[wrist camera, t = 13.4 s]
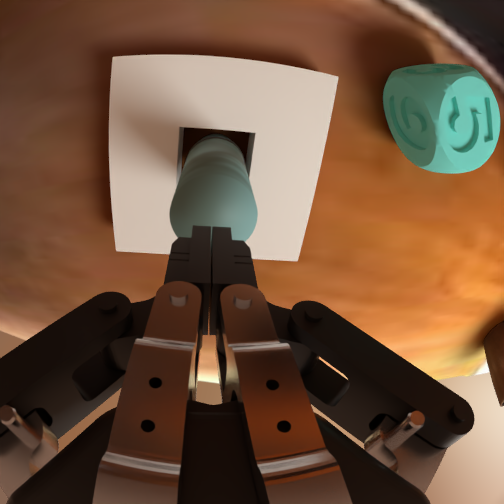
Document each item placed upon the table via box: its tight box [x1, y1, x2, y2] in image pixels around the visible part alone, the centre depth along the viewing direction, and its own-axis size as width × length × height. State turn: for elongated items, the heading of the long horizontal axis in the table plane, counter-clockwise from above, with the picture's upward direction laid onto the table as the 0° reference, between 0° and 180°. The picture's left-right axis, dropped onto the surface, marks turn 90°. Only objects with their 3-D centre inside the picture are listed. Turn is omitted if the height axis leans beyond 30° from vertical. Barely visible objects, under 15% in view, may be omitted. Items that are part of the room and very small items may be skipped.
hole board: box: [109, 55, 338, 261], centre depth 23 cm, size 16×16×4 cm
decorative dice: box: [383, 64, 500, 173], centre depth 19 cm, size 8×8×8 cm
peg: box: [169, 134, 258, 242], centre depth 19 cm, size 4×4×12 cm
